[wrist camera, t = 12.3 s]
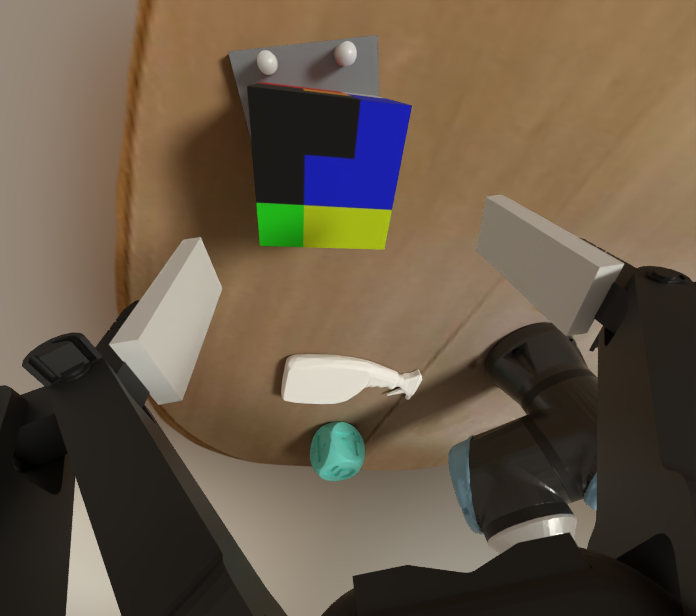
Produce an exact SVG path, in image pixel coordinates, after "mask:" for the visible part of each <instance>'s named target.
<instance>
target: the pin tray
mask: <svg viewBox="0 0 696 616" xmlns="http://www.w3.org/2000/svg"><path fill="white" fill-rule="evenodd" d="M228 53H229V57H230V61H231V65H232V69H233V73H234V76H235V80H236V84H237V88H238V92H239V96H240V100H241V103H242V107H243V111H244V115H245V119H246V123H247V127H248V130H249V134H250V138H251V130H250V118H249V105H248V93H247V86H249V85H253V84H256V83H260V82H265V83H273V84H281V85H290V86H298V87H306V88H314V89H322V90H331V91H339V92H347V93H355V94H363V95H372V96H378V97H379V73H378V35H375V36H366V37H357V38H348V39H339V40H330V41H321V42H312V43H303V44H294V45H284V46H275V47H266V48H257V49H248V50H239V51H230V52H228Z"/></svg>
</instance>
